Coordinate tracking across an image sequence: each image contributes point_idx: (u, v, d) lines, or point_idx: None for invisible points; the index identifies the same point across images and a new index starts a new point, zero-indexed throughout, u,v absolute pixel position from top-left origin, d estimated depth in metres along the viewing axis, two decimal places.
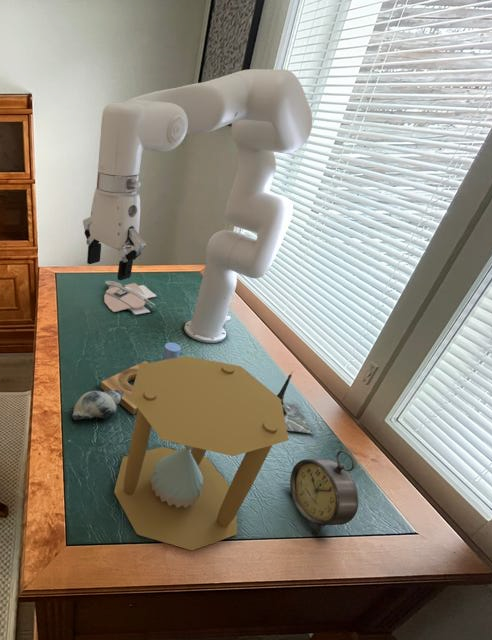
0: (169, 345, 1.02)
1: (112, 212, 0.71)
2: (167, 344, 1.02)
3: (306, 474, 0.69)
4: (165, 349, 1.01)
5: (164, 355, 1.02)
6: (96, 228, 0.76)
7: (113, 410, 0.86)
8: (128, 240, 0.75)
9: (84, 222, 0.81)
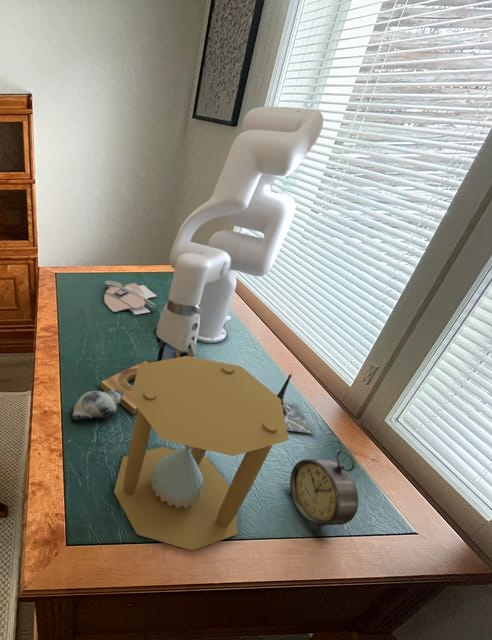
0: (169, 345, 1.02)
1: (179, 327, 0.94)
2: (167, 344, 1.02)
3: (306, 474, 0.69)
4: (165, 349, 1.01)
5: (164, 355, 1.02)
6: (163, 333, 0.99)
7: (113, 410, 0.86)
8: None
9: (154, 332, 1.04)
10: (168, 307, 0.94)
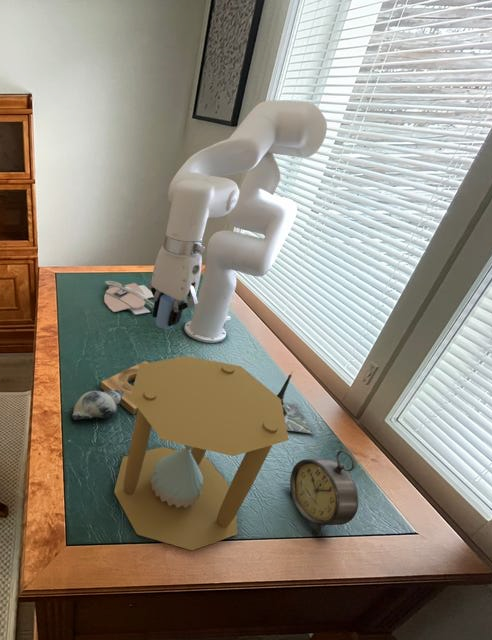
0: (166, 296, 0.89)
1: (177, 270, 0.81)
2: (164, 295, 0.89)
3: (306, 474, 0.69)
4: (161, 300, 0.88)
5: (160, 308, 0.89)
6: (159, 281, 0.86)
7: (113, 410, 0.86)
8: None
9: (149, 282, 0.91)
10: (165, 247, 0.80)
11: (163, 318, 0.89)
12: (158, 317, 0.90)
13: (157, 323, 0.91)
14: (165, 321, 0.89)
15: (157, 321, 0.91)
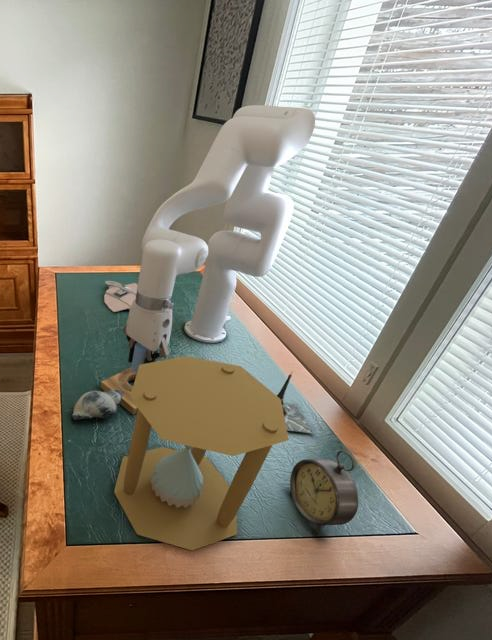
0: (140, 344, 0.91)
1: (148, 323, 0.84)
2: (138, 343, 0.92)
3: (306, 474, 0.69)
4: (135, 348, 0.91)
5: (134, 355, 0.92)
6: (133, 330, 0.89)
7: (113, 410, 0.86)
8: None
9: (124, 329, 0.94)
10: (136, 301, 0.83)
11: (137, 365, 0.92)
12: (133, 363, 0.93)
13: (132, 368, 0.94)
14: None
15: (132, 367, 0.94)
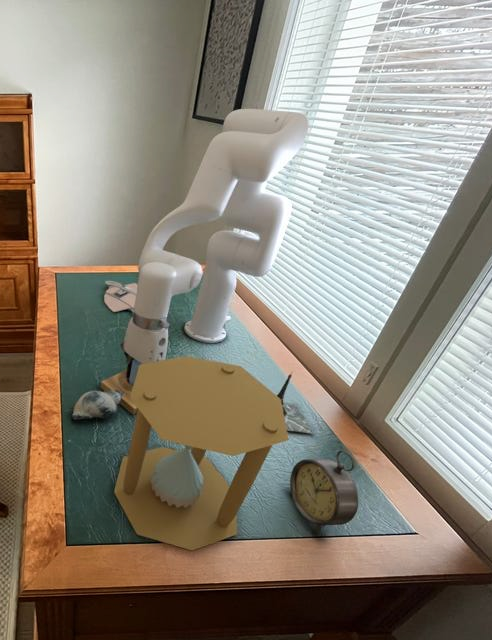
0: None
1: (145, 342, 0.87)
2: (135, 359, 0.95)
3: (306, 474, 0.69)
4: (133, 365, 0.94)
5: (132, 371, 0.95)
6: (130, 347, 0.92)
7: (113, 410, 0.86)
8: None
9: (122, 346, 0.97)
10: (133, 320, 0.86)
11: None
12: (131, 379, 0.96)
13: (130, 383, 0.97)
14: None
15: (130, 382, 0.97)
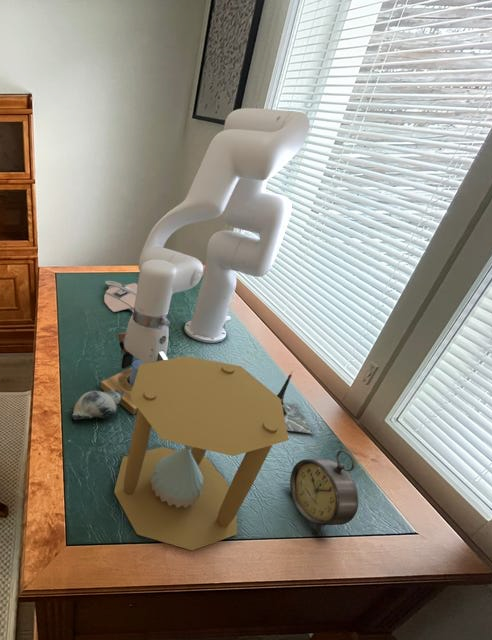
0: (137, 363, 0.95)
1: (145, 339, 0.86)
2: (135, 362, 0.95)
3: (306, 474, 0.69)
4: (133, 367, 0.94)
5: (132, 374, 0.95)
6: (130, 345, 0.91)
7: (113, 410, 0.86)
8: (157, 357, 0.90)
9: (119, 336, 0.96)
10: (134, 318, 0.86)
11: None
12: (130, 381, 0.97)
13: None
14: None
15: (130, 384, 0.97)
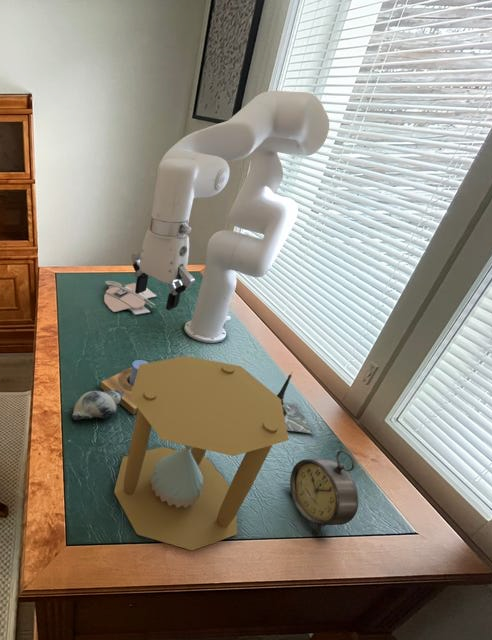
0: (137, 363, 0.95)
1: (164, 252, 0.79)
2: (135, 362, 0.95)
3: (306, 474, 0.69)
4: (133, 367, 0.94)
5: (132, 374, 0.95)
6: (147, 264, 0.84)
7: (113, 410, 0.86)
8: (176, 275, 0.83)
9: (133, 257, 0.89)
10: (151, 228, 0.79)
11: None
12: (130, 381, 0.97)
13: None
14: None
15: (130, 384, 0.97)
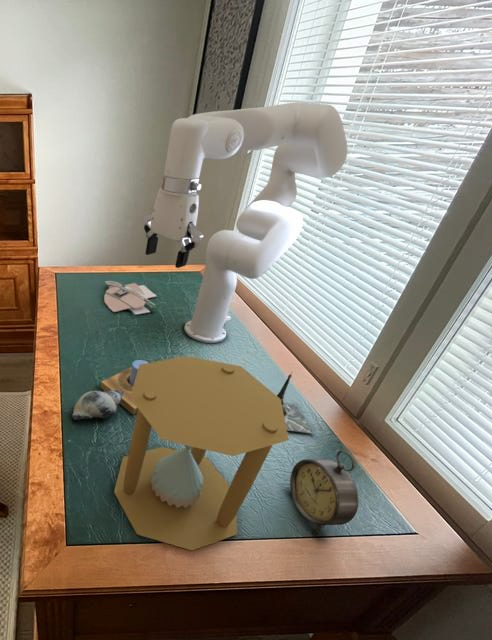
0: (137, 363, 0.95)
1: (175, 209, 0.84)
2: (135, 362, 0.95)
3: (306, 474, 0.69)
4: (133, 367, 0.94)
5: (132, 374, 0.95)
6: (158, 223, 0.89)
7: (113, 410, 0.86)
8: (186, 233, 0.88)
9: (144, 219, 0.94)
10: (163, 187, 0.83)
11: None
12: (130, 381, 0.97)
13: None
14: None
15: (130, 384, 0.97)
